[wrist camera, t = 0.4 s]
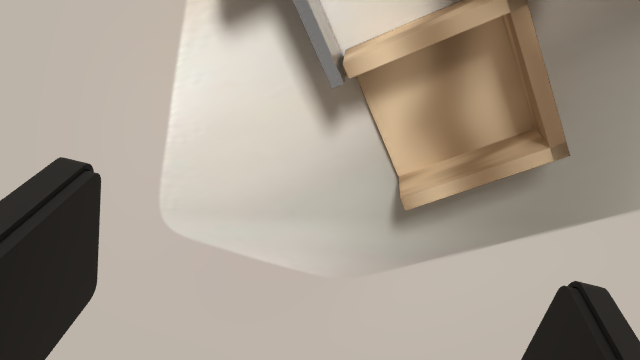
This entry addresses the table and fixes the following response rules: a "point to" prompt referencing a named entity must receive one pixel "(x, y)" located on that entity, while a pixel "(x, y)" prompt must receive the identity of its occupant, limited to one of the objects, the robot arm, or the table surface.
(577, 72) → the table surface
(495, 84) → the caddy
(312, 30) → the grey l-shaped block
